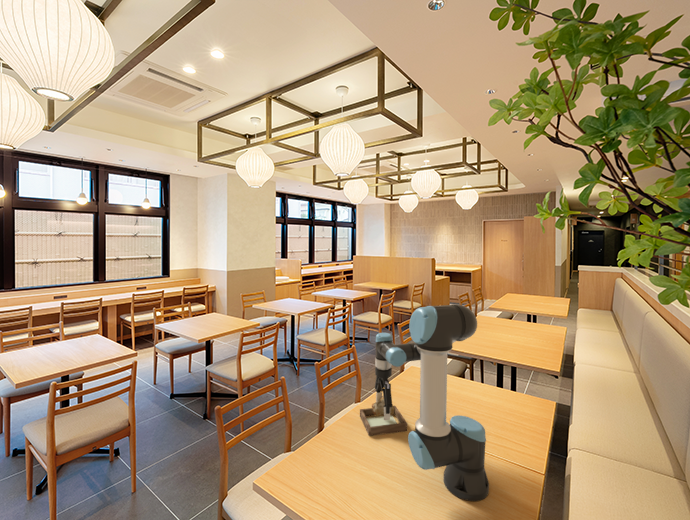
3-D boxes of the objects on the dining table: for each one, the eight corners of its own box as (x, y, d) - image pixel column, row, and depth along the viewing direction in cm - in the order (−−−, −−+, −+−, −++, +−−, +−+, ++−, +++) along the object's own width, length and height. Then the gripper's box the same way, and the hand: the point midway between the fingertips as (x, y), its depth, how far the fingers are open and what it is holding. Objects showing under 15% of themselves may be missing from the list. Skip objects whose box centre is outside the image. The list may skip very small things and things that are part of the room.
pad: (400, 428, 152) (400, 427, 152) (372, 431, 149) (372, 431, 149) (391, 415, 162) (391, 414, 162) (366, 418, 160) (366, 417, 160)
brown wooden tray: (407, 431, 150) (407, 423, 150) (368, 435, 146) (368, 428, 146) (395, 412, 165) (395, 405, 165) (359, 416, 162) (359, 409, 161)
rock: (395, 422, 150) (395, 401, 149) (372, 422, 150) (372, 400, 149) (392, 408, 162) (392, 388, 161) (370, 408, 162) (370, 388, 161)
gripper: (400, 377, 143) (399, 425, 145) (383, 356, 166) (382, 399, 168) (383, 378, 141) (383, 427, 143) (368, 357, 164) (368, 400, 166)
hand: (382, 412), depth 155 cm, fingers closed on rock, 11 cm apart
